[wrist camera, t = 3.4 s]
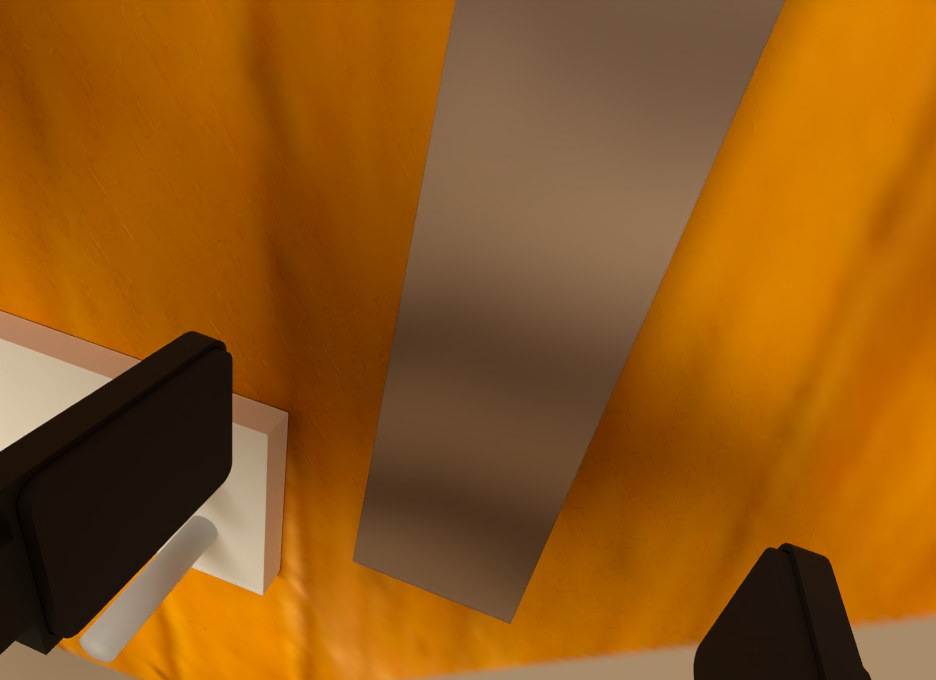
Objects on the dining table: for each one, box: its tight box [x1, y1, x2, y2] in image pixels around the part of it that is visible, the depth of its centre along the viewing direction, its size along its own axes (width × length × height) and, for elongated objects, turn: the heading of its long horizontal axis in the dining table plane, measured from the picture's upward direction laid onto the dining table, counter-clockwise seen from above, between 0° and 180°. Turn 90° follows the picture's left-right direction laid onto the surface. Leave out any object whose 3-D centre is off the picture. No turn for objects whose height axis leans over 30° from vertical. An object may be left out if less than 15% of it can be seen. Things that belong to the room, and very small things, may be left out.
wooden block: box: [353, 0, 785, 624], centre depth 16 cm, size 20×6×5 cm, turn 167°
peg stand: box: [0, 311, 288, 663], centre depth 24 cm, size 20×10×8 cm, turn 79°
